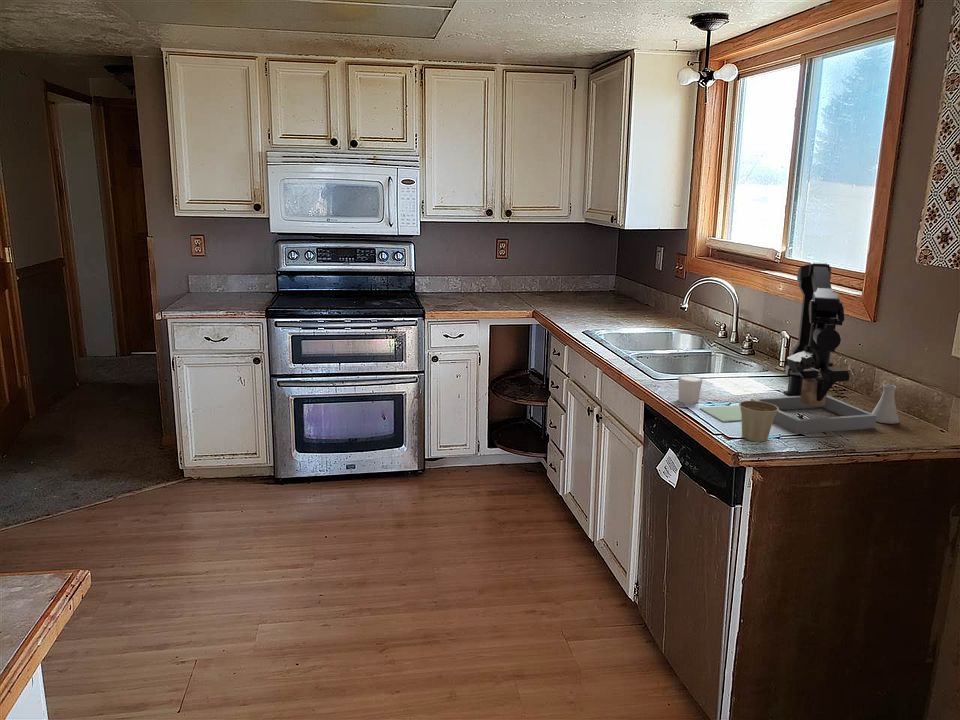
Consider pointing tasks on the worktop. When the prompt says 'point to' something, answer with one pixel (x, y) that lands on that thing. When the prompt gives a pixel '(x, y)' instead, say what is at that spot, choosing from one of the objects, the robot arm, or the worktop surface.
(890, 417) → the flask
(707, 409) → the mat
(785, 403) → the grey rimmed tray
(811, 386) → the walnut block
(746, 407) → the flower pot
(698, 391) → the shot glass
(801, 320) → the robot arm
